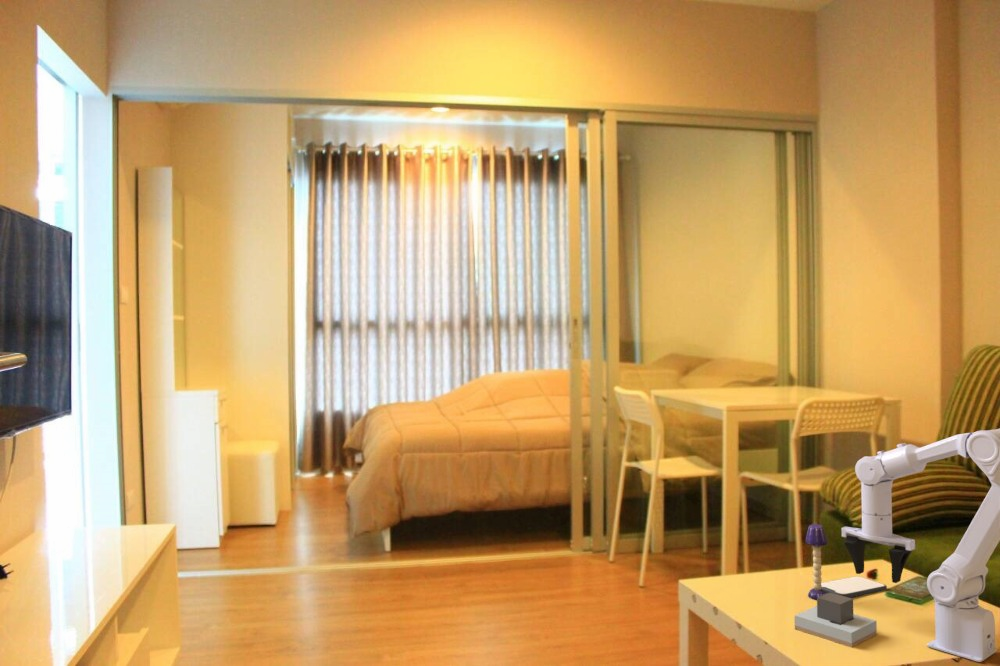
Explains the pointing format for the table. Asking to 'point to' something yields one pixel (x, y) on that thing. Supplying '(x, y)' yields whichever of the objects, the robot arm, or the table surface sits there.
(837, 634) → the socket
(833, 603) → the plug
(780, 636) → the table surface
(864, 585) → the phone case
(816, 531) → the toy lamp
